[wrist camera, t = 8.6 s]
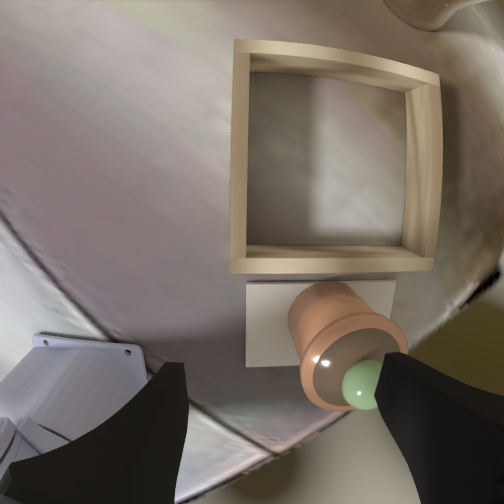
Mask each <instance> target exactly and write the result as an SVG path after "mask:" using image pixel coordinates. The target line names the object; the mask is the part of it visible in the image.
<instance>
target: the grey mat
mask: <svg viewBox="0 0 504 504" xmlns="http://www.w3.org/2000/svg"><path fill="white" fill-rule="evenodd" d="M319 282H323V281H312V282H247V285H246V363H245V364H246V367H273V366H294V365H300V359H299V357H298V354H297V351H296V348H295V346H294V343H293V340H292V337H291V335H290V332H289V329H288V321H287V319H288V313H289V309H290V307H291V305H292V303H293V301H294V300H295V299H296V297H297V296H298V295H299V294H300V293H301V292H302V291H303V290H305V289H306V288H308V287H309V286H311V285H313V284H316V283H319ZM338 282H341V283H344V284H346V285H348V286H349V287H351V288H352V289H353V290H354V291H355V292H356V293H357V294H358V295H359V296H360V297H361V298H362V299H363V300H364V301H365V302H366V303H367V304H368V305H369V306H370V307H371V309H372V310H373V311H374V312H375V313H378V314H381V315H384V316H386V317H387V318H389V319H390V315H391V310H392V305H393V299H394V293H395V287H396V280H394V279H388V280H357V281H338Z"/></svg>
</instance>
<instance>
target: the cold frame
mask: <svg viewBox="0 0 504 504" xmlns="http://www.w3.org/2000/svg"><path fill="white" fill-rule="evenodd" d="M250 71H251V72H272V73H286V74H297V75H307V76H316V77H324V78H331V79H338V80H344V81H351V82H356V83H362V84H367V85H372V86H377V87H382V88H387V89H391V90H395V91H400V92H404V93H405V96H406V120H407V165H406V190H405V206H404V218H403V229H402V239H401V246H320V245H246V223H247V166H248V116H249V72H250ZM442 171H443V126H442V105H441V92H440V81H439V75H438V74H435V73H432V72H429V71H426V70H423V69H420V68H417V67H413V66H410V65H407V64H403V63H400V62H396V61H392V60H388V59H384V58H380V57H376V56H372V55H367V54H362V53H358V52H353V51H347V50H342V49H336V48H330V47H323V46H316V45H309V44H300V43H291V42H280V41H266V40H242V39H234V57H233V86H232V121H231V169H230V274H300V273H366V272H407V271H433V265H434V259H435V252H436V245H437V237H438V228H439V218H440V207H441V193H442Z"/></svg>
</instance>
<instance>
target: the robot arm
mask: <svg viewBox="0 0 504 504" xmlns="http://www.w3.org/2000/svg"><path fill="white" fill-rule="evenodd" d="M46 340H47V341H48V343H47V342H46ZM32 342H33V345H34V348H33V349H32V350H31V351H30V352H29V353H28V354H27V355H26V356H25V357H24V358H23V359H22V360H21V361H20V362H19V363H18V364H17V365H16V366H15V367H14V368H13V370H12V371H11V372H10V373H9V374H8V375H7V376H6V377H5V378H4V379H3V380H2V382H1V383H0V504H174V499H175V488H176V481H177V476H178V471H179V467H180V462H181V457H182V452H183V448H184V443H185V438H186V433H187V425H188V413H189V403H188V395H187V387H186V378H185V370H184V363H177V362H166V363H165V364H163V366H162V367H161V368H160V369H159V370H158V371H157V372H156V374H155V375H154V376H153V377H152V378H151V379H150V380H149V381H148V377H147V372H146V367H145V361H144V355H143V350H142V348H141V347H140V346H138V345H135V344H122V343H110V342H100V341H90V340H81V339H73V338H65V337H57V336H50V335H43V334H34V335H33V336H32ZM127 349H128V350H130V351H131V353H128V352H127V351H126V350H127ZM374 397H375V400H376V403H377V406H378V409H379V411H380V414H381V416H382V418H383V420H384V422H385V424H386V426H387V427H388V429H389V431H390V433H391V434H392V436H393V438H394V439H395V442H396V443H397V445H398V447H399V449H400V451H401V452H402V454H403V456H404V458H405V460H406V462H407V464H408V466H409V469H410V472H411V474H412V477H413V480H414V482H415V485H416V488H417V491H418V494H419V498H420V501H421V504H504V396H502V395H498V394H494V393H490V392H487V391H484V390H481V389H478V388H475V387H472V386H469V385H467V384H465V383H463V382H460V381H458V380H456V379H454V378H452V377H449V376H447V375H445V374H443V373H441V372H439V371H437V370H436V369H433V368H432V367H430V366H428V365H426V364H424V363H422V362H420V361H418V360H416V359H414V358H412V357H410V356H408V355H406V354H404V353H402V352H399V351H398V352H391V353H385V356H384V360H383V364H382V368H381V372H380V376H379V379H378V383H377V386H376V390H375V393H374Z"/></svg>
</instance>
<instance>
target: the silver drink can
mask: <svg viewBox="0 0 504 504" xmlns="http://www.w3.org/2000/svg"><path fill="white" fill-rule="evenodd" d="M384 1H385V3H386V4H387V6H388V7H389V8H390V9H391V10H392V11H393V12H394V13H395V14H396V15H397V16H398V17H399V18H401V19H402V20H403V21H405V22H406V23H408V24H410V25H411V26H413V27H416V28H418V29H421V30H426V31H434V30H437V29H439V28H441V27H442V26H443V25H444V24H445V23H446V22H447V21H448V20H449V19H450V18H451V17H452V16H453V15H454V14H455V13H456V12H458V11H459V10H461V9H463V8H465V7H468V6H471V5H474V4H478V3H482V2H487V1H492V0H384Z"/></svg>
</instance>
